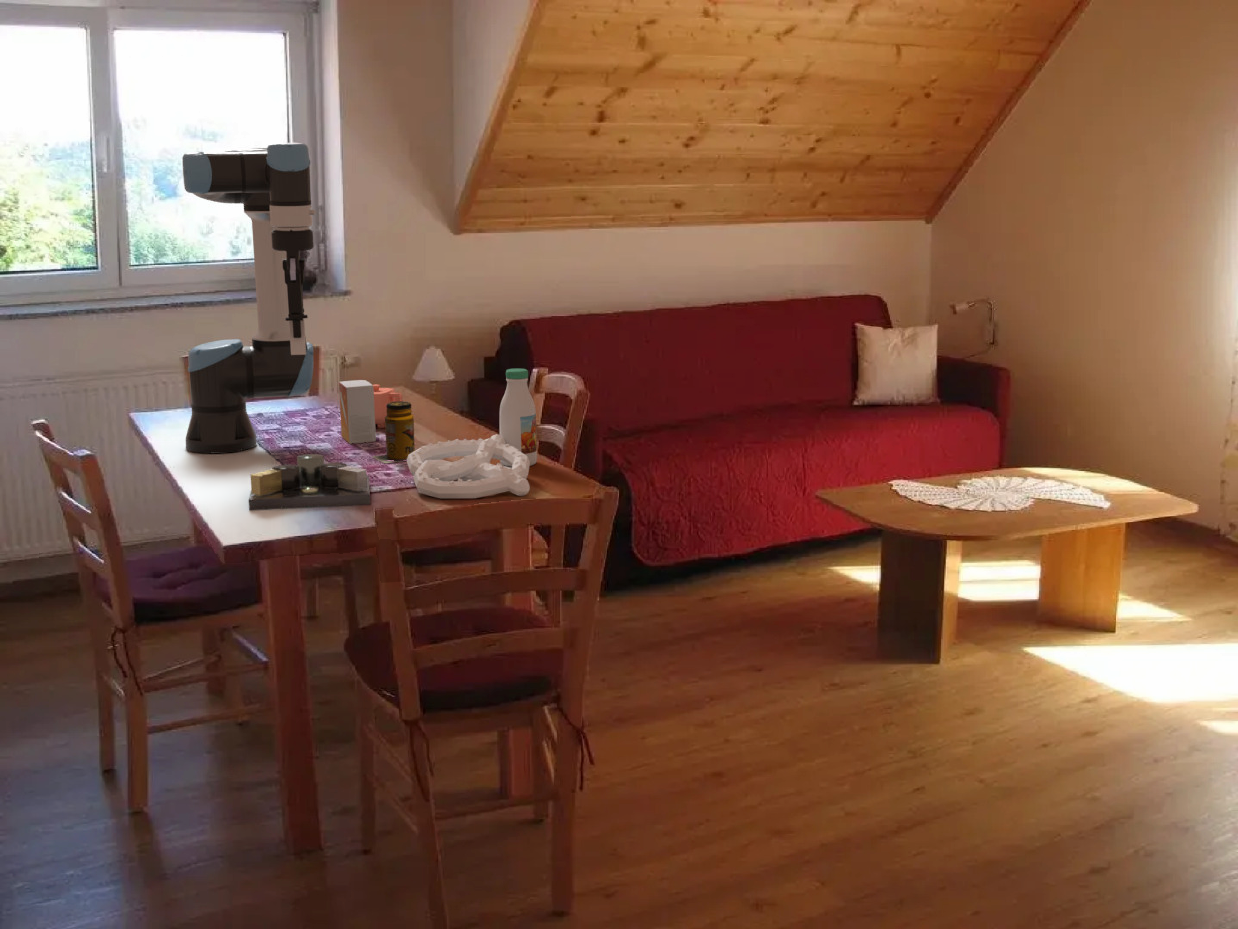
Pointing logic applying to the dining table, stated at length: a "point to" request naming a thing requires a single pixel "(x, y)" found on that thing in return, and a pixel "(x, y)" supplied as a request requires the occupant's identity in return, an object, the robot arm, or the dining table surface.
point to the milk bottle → (518, 415)
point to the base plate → (310, 490)
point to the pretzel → (469, 468)
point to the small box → (357, 411)
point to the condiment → (398, 432)
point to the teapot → (383, 403)
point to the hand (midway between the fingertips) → (298, 353)
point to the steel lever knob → (343, 476)
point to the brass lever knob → (275, 479)
